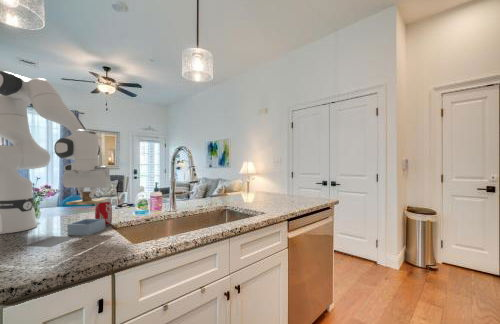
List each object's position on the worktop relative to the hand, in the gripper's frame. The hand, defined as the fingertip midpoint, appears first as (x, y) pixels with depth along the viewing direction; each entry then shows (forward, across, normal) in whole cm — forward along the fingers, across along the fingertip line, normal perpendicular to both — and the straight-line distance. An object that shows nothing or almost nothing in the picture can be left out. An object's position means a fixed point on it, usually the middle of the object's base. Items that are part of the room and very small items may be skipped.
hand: (87, 197), depth 102 cm
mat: (+16, +4, +12) cm, 20 cm away
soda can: (+16, +2, -12) cm, 20 cm away
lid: (+2, 0, 0) cm, 2 cm away
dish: (+16, 0, 0) cm, 16 cm away
